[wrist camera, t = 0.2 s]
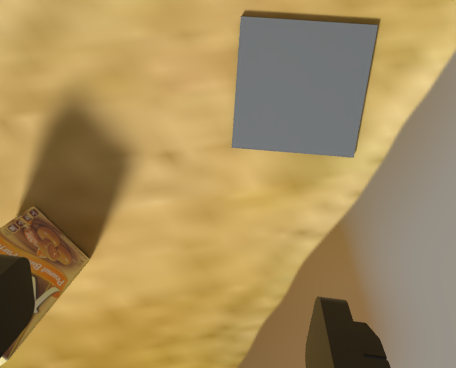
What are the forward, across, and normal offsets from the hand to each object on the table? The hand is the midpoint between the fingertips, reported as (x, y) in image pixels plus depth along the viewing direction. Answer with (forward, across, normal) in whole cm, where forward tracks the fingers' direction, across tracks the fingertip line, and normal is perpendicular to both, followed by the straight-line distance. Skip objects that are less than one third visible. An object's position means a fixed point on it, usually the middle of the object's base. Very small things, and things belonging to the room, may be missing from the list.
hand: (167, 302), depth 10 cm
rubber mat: (+29, -6, -3) cm, 29 cm away
